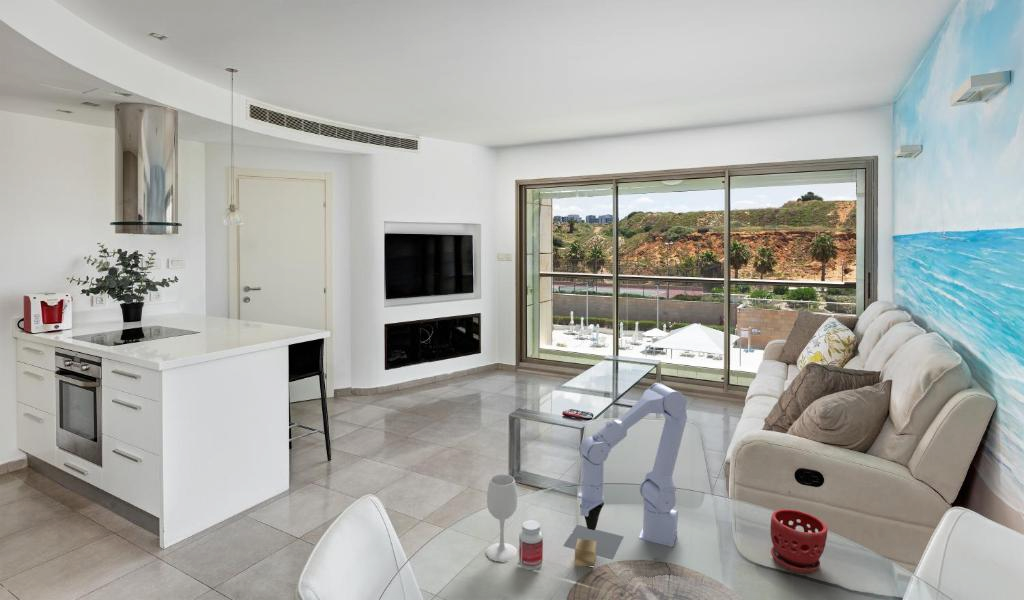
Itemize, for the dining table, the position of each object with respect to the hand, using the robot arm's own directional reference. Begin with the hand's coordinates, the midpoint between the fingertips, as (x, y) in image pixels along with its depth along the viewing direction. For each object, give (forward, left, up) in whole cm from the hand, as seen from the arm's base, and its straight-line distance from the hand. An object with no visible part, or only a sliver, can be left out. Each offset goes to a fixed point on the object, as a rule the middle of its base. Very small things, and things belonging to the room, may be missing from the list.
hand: (591, 528), depth 149 cm
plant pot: (-51, -18, -6) cm, 54 cm away
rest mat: (0, -3, -6) cm, 6 cm away
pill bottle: (+12, +14, -6) cm, 19 cm away
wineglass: (+21, +13, -6) cm, 26 cm away
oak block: (-1, +7, -6) cm, 9 cm away
